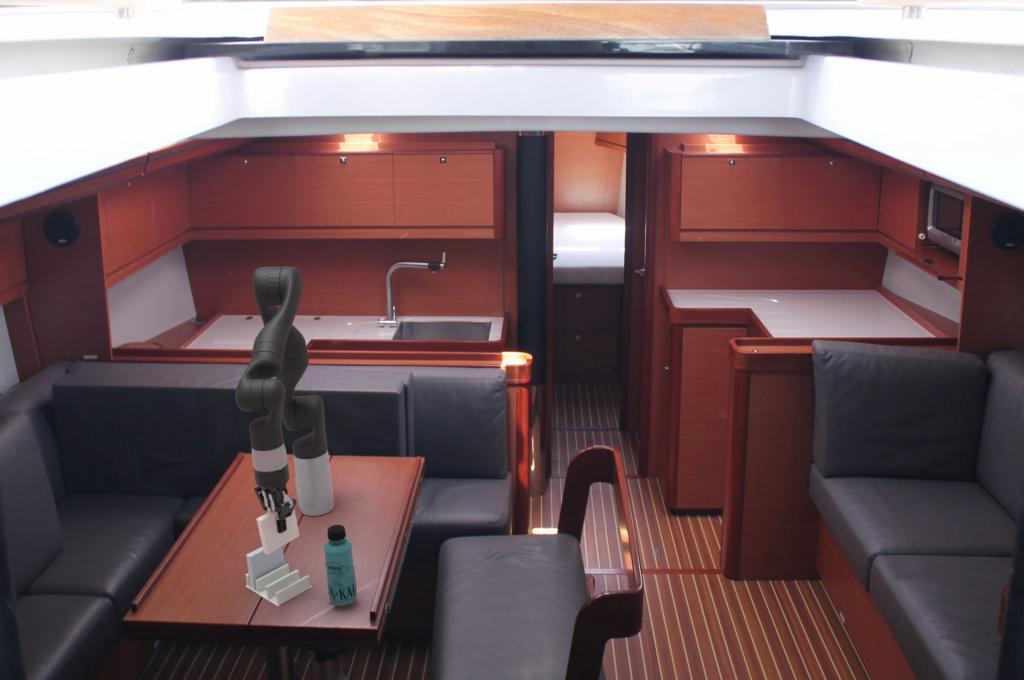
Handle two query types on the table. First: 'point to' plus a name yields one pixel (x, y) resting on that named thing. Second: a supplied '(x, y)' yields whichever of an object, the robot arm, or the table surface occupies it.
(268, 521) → the plate
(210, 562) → the table surface
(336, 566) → the beverage bottle
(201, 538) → the table surface
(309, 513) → the robot arm
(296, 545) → the table surface
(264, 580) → the rack
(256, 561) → the plate
